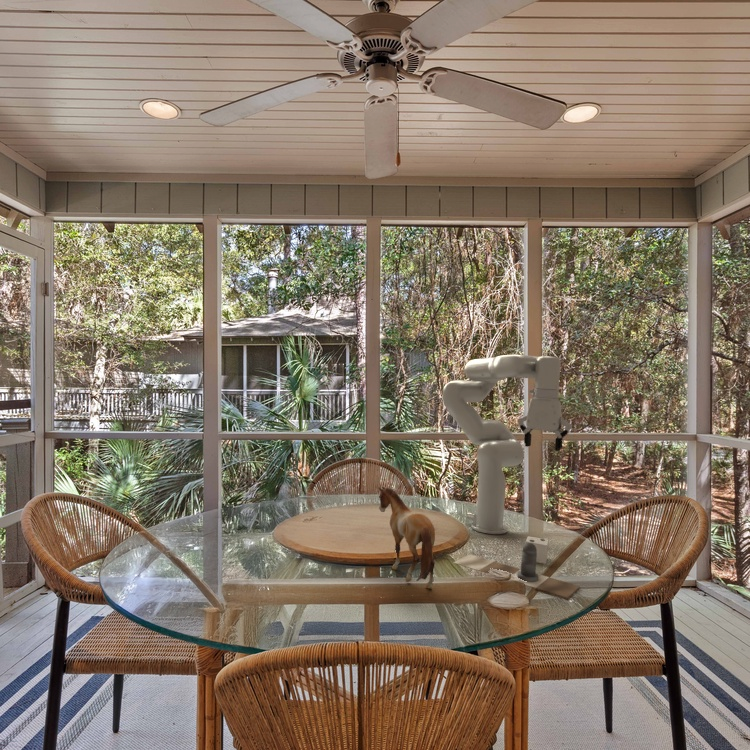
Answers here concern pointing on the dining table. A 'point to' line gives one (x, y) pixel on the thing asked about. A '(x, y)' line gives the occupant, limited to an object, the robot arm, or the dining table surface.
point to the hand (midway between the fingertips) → (542, 448)
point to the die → (539, 548)
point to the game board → (542, 585)
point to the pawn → (528, 563)
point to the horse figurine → (410, 533)
